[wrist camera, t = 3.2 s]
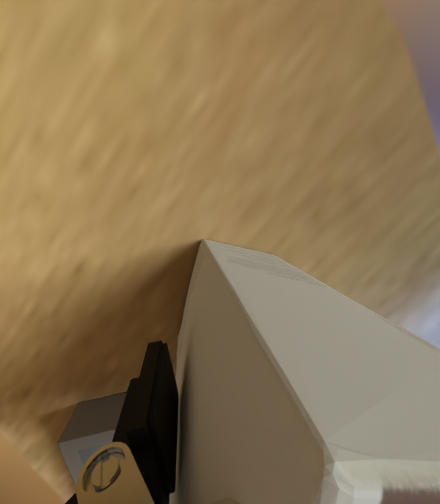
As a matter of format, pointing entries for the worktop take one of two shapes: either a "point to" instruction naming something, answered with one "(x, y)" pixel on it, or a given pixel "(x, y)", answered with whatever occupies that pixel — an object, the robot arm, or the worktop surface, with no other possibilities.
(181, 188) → the worktop surface
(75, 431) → the tray
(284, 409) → the skincare box
